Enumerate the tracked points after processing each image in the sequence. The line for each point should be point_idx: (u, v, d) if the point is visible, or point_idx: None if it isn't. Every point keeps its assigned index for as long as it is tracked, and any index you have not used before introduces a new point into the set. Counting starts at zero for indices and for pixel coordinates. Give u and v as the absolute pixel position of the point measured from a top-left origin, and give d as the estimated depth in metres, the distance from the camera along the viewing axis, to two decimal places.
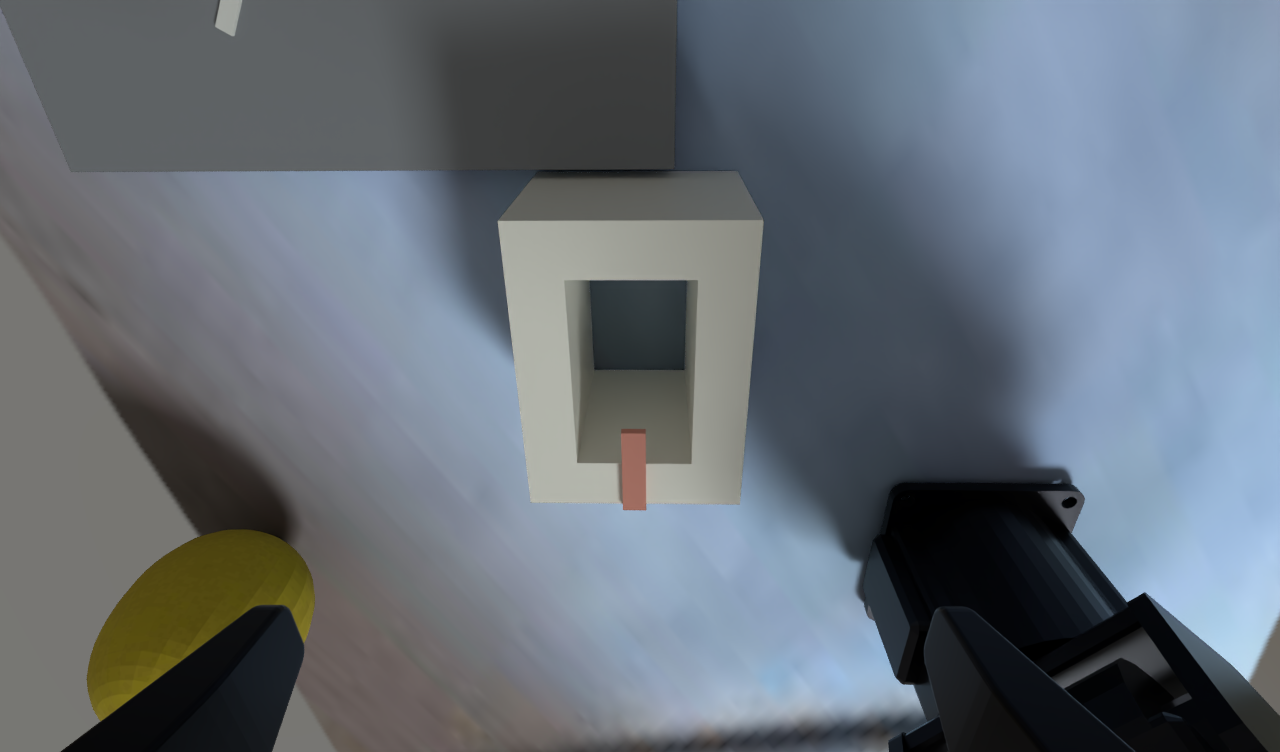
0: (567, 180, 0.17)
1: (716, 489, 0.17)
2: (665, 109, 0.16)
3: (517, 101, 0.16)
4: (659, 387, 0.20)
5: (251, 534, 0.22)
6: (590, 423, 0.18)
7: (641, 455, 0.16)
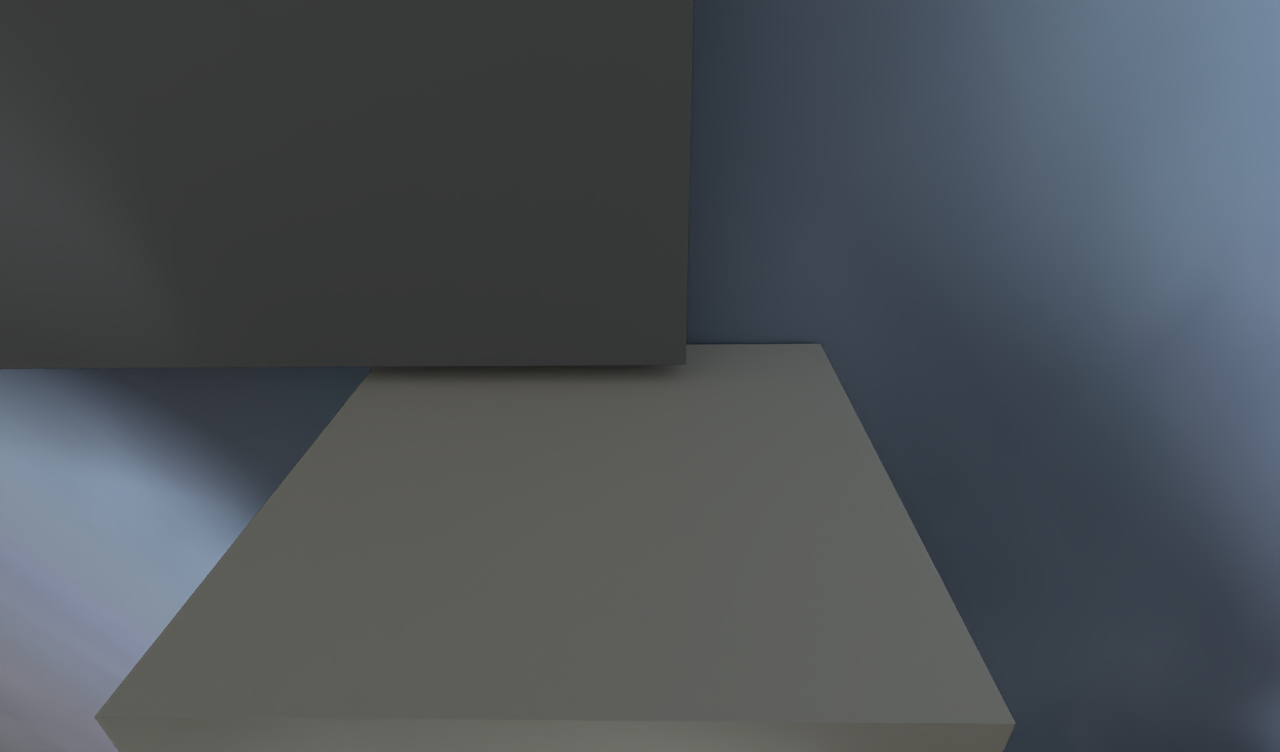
0: (439, 391, 0.07)
1: None
2: (664, 239, 0.06)
3: (299, 222, 0.06)
4: None
5: None
6: None
7: None
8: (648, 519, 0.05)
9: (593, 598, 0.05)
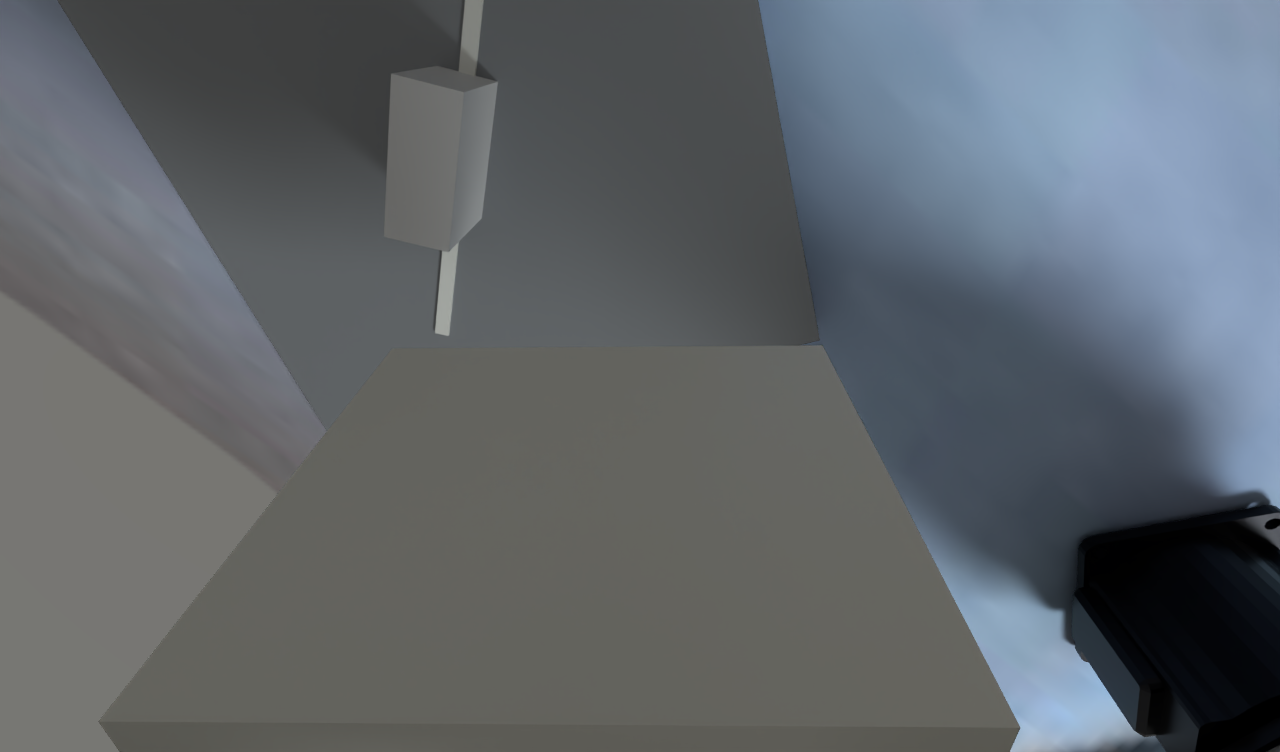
0: (441, 394, 0.07)
1: None
2: (803, 298, 0.18)
3: (676, 323, 0.19)
4: None
5: None
6: None
7: None
8: (651, 522, 0.05)
9: (596, 601, 0.05)
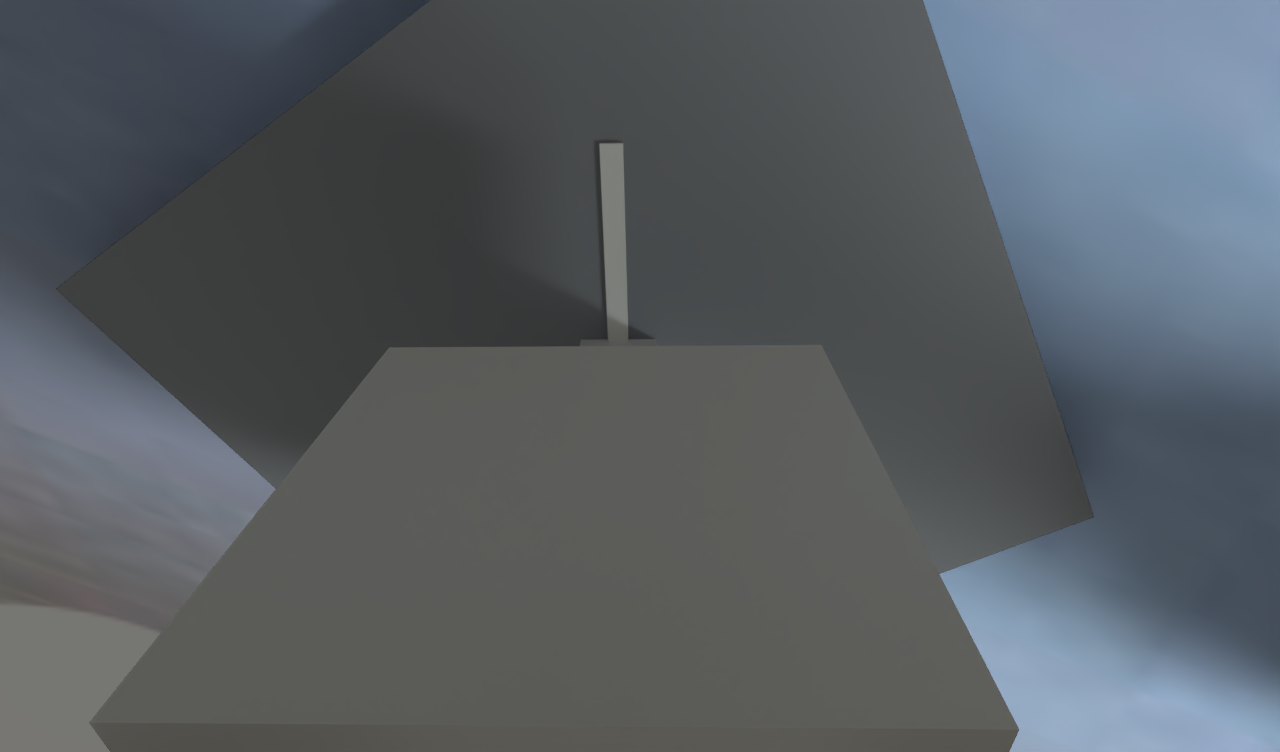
0: (438, 393, 0.07)
1: None
2: (1068, 478, 0.14)
3: None
4: None
5: None
6: None
7: None
8: (648, 522, 0.05)
9: (592, 602, 0.05)
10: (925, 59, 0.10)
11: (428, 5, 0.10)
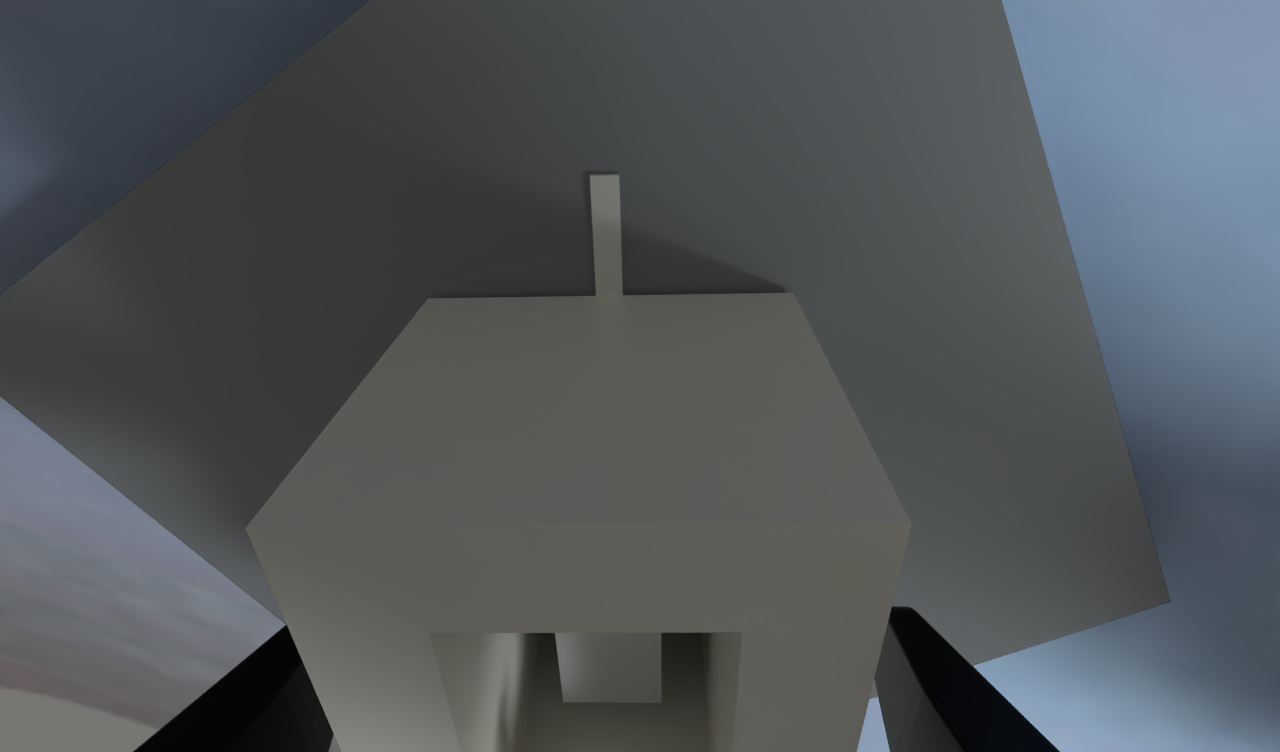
0: (473, 329, 0.09)
1: None
2: (1144, 560, 0.12)
3: (950, 619, 0.13)
4: None
5: None
6: (533, 747, 0.10)
7: None
8: (647, 411, 0.07)
9: (605, 458, 0.06)
10: (1000, 71, 0.08)
11: (372, 2, 0.08)
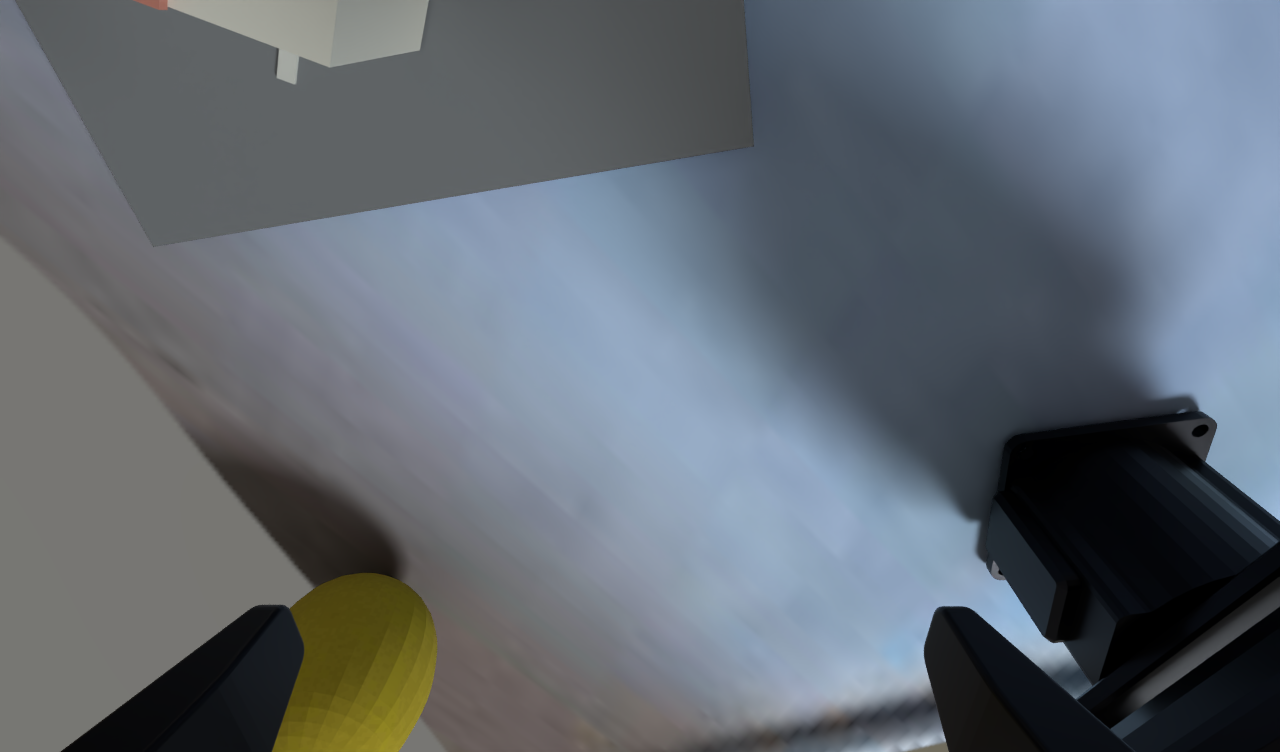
0: None
1: (291, 18, 0.10)
2: (739, 85, 0.15)
3: (585, 102, 0.15)
4: None
5: (367, 577, 0.22)
6: None
7: None
8: None
9: None
10: None
11: None
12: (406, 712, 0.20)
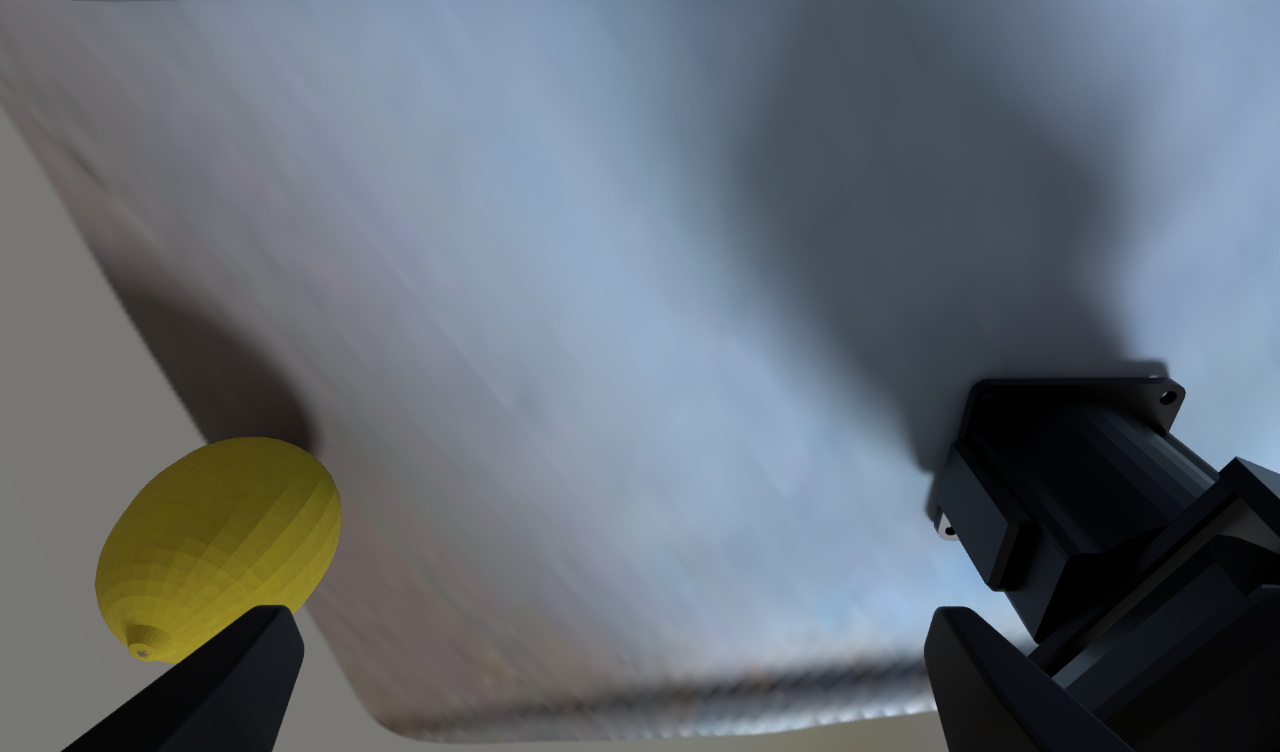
0: None
1: None
2: None
3: None
4: None
5: (273, 440, 0.20)
6: None
7: None
8: None
9: None
10: None
11: None
12: (291, 582, 0.18)
